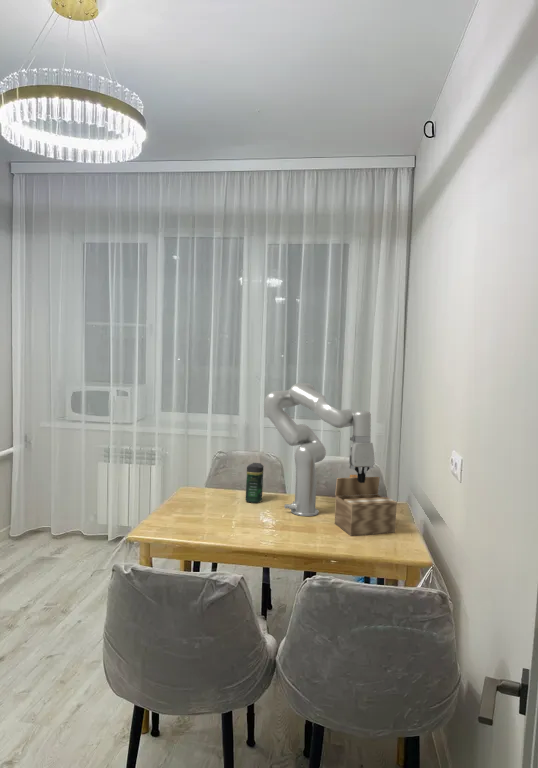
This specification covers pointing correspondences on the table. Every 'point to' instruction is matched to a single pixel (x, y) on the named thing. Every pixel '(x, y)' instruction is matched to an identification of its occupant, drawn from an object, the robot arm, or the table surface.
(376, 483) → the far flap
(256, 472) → the coffee jar
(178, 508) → the table surface
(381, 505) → the carton
